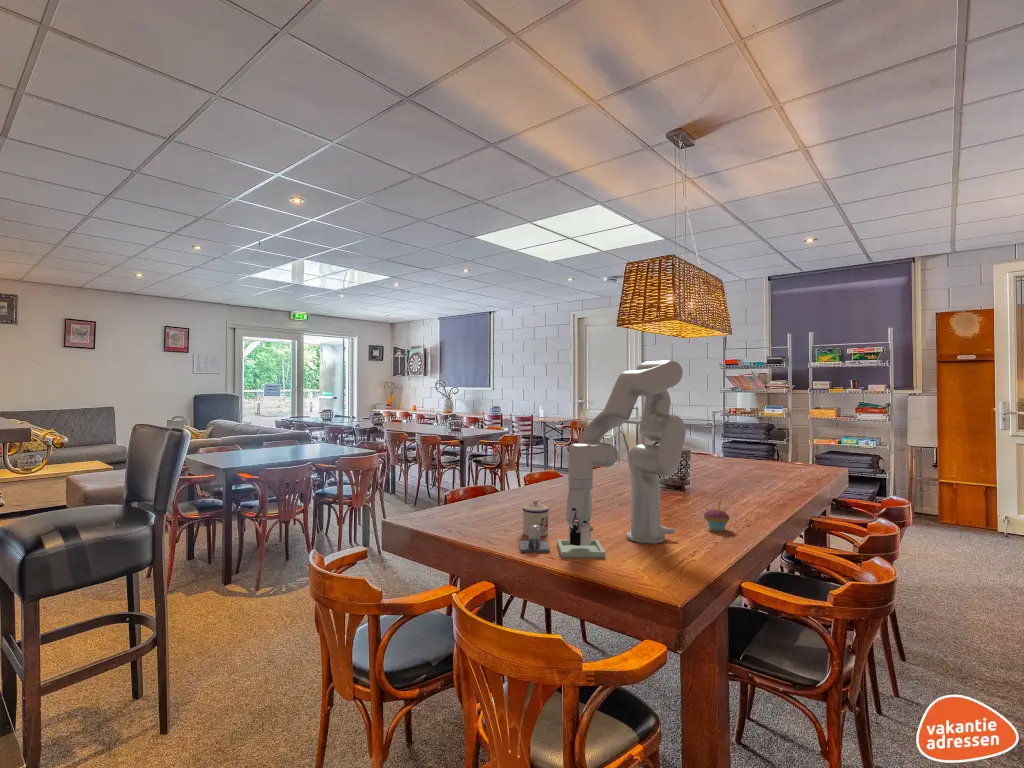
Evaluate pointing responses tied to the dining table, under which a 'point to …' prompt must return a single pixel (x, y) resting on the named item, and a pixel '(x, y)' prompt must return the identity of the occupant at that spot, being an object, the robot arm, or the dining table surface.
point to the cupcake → (717, 518)
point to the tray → (580, 549)
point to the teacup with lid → (535, 517)
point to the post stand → (534, 541)
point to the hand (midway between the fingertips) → (579, 541)
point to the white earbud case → (584, 534)
